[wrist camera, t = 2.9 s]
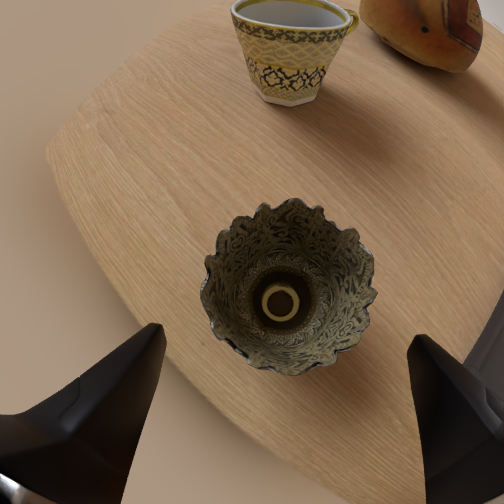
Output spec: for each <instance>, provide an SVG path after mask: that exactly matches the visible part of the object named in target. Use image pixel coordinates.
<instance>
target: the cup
mask: <svg viewBox="0 0 504 504" xmlns="http://www.w3.org/2000/svg"><path fill="white" fill-rule="evenodd" d="M323 213H324V209H323V207H321V206H319V205H316V206H313V207H312V208H311V209H310V208H309V207H308V206H307V205H306V204H305V203H304V202H303V200H301V199H299V198H291V199H288V200H286V201H284V202H283V203H282V204H280V206H278V207H276V208H273V209H271V208H270V205H268V204H267V203H265V202H263V203H262V204H261V205H260V206H259V207H258V208H257V209H256V213H255V215H254V218H251V217H249V216H245V217H244V216H237V217H236V218H235V219H234V220H233V221H232V226H230V227H229V228H230V229H225V230H222V231H220V233H219V234H218V236H217V240H216V255H213V256H211V254H210V255H206V257H205V263H204V264H205V267H206V270H207V276H206V279H205V281H204V282H203V283H202V286H201V290H200V298H201V302H202V304H203V307H204V309H205V311H206V313H207V315H208V317H209V319H210V321H211V323H210V326H211V329H212V332H213V333H214V335H215V336H216V338H218V339H219V340H224V341H226V342H227V343H228V344H229V345H230V346H231V347H232V348H233V350H234V351H235V352H237V353H239V354H241V355H242V356H243V357H245V358H246V359H247V361H248V362H247V364H249V365H250V366H252V367H254V368H257V369H260V370H267V369H268V370H271V371H274V372H276V373H279V374H283V375H290V376H296V375H301V374H304V373H306V372H308V371H310V370H311V369H313V368H315V367H317V366H319V365H321V366H330V365H333V364H335V363H336V362H337V361H336V358H337V357H336V356H337V355H336V354H337V353H338V352H344V351H347V350H350V349H352V348H353V347H354V346H356V345H357V344H358V342H359V341H360V339H361V334H360V333H363V331H364V329H366V328H367V327H368V326H369V325H370V319H369V311H368V310H367V307H368V306H369V305H370V304H372V303H373V301H374V299H375V297H376V296H377V294H378V292H377V291H376V290H375V289H374V288H372V287H371V281H372V277H373V275H374V257H373V255H372V253H371V252H370V251H369V250H367V249H366V248H365V247H364V245H363V244H361V243H360V242H359V239H360V235H359V233H358V232H357V231H356V229H355V228H353V227H348V228H347V229H345V230H340V229H339V228H338V227H337V226H336V224H335V222H333V221H329V220H327V219H325V215H324V214H323ZM277 292H284V293H286V294H288V295H289V296H290V297H291V299H292V308H291V310H290V311H289V312H288V313H287V314H286V315H282V316H278V315H275V314H273V313H272V312H271V311H270V309H269V306H268V302H269V299H270V297H271V296H272V295H273V294H274V293H277Z"/></svg>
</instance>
